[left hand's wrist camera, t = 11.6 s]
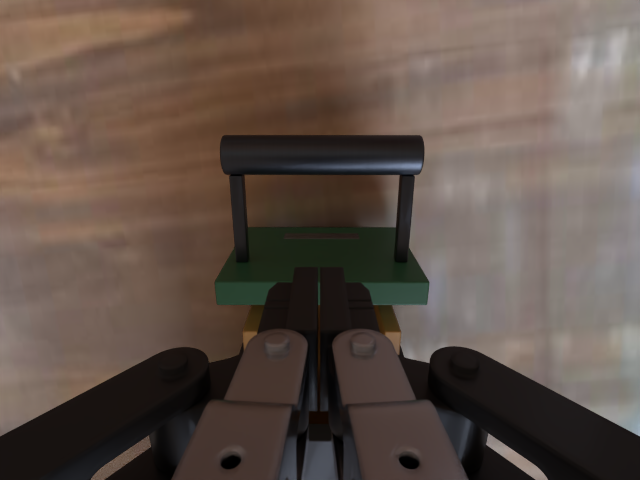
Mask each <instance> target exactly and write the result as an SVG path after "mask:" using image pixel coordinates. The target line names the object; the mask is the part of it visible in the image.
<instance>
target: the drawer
mask: <svg viewBox="0 0 640 480" xmlns="http://www.w3.org/2000/svg"><path fill="white" fill-rule="evenodd" d="M220 160H221V166H222V169H223V172H224V173H225V174H226V175H230V176H229V179H230V192H231V204H232V217H233V230H234V242H235V247H234V249H233V251H232V252H231V254H230V256H229V258H228V259H227V261H226V263H225V265H224V266H223V268H222V270H221V272H220V273H219V275H218V277H217V279H216V280H215V291H216V301H217V304H218V305H251V307H250V310H249V313H248V317H247V320H246V323H245V326H244V329H243V332H242V333H243V346H244V350H245V348H246V345H247V343H248V342H249V340H250V339H251V338H252V337H254V336H255V335H257V332H258V328H259V324H260V320H261V317H262V313H263V309H264V305H265V302H266V298H267V294H268V290H269V289H271V288H272V287H273V286H274V285H275V284H276V283H277V282H293V275H294V269H295V267H318V394H317V411H309V424H329V420H328V411H320V267H343V269H344V276H345V282H361V283H362V284H363V285H364V286H365V287H366V288H367V289H368V290H369V291H370V295H371V299H372V303H373V307H374V310H375V314H376V318H377V322H378V326H379V330H380V333H382V334H383V335H385V336H386V337H388V338H389V339H390V340H391V342H392V343H393V345H394V348H395V350H396V353H397V354H398V355H399V352H400V340H401V330H400V327H399V324H398V321H397V318H396V316H395V313H394V310H393V307H392V305H427V300H428V291H429V281H428V279H427V277H426V276H425V274H424V272H423V271H422V269H421V267H420V266H419V264H418V262H417V260H416V259H415V257H414V255H413V254H412V252H411V250H410V249H409V239H410V227H411V215H412V203H413V191H414V180H415V176H414V175H418V174H420V172H421V170H422V167H423V162H424V142H423V138H422V136H420V135H224V136H223V137H222V139H221V143H220ZM244 175H400V178H399V192H398V206H397V220H396V228H385V227H248V224H247V209H246V193H245V178H244Z"/></svg>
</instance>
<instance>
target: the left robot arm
mask: <svg viewBox="0 0 640 480" xmlns="http://www.w3.org/2000/svg"><path fill="white" fill-rule="evenodd" d="M317 394H318V267H295V269H294V275H293V282H277V283H276V284H275V285H274V286H273V287H272V288H271V289H269V290H268V294H267V298H266V302H265V305H264V309H263V313H262V317H261V320H260V324H259V328H258V332H257V335H255V336H254V337H252V338H251V339H250V340H249V342H248V343H247V345H246V348H245V350H244V352H243V353H241V354H239V355H237V356H235V357H232V358H229V359H225V360H220V361H215V362H211V363H209V361H208V357H207V356H206V354H205V353H204V352H202V351H200V350H198V349H195V348H189V347H181V348H173V349H169V350H166V351H163V352H160V353H158V354H156V355H154V356H152V357H150V358H149V359H147V360H145V361H143V362H141V363H139V364H137V365H135V366H133V367H131V368H130V369H128V370H126V371H124V372H122V373H120V374H118V375H116V376H114V377H112V378H111V379H109V380H107V381H105V382H103V383H101V384H99V385H97V386H95V387H93V388H92V389H90V390H88V391H86V392H84V393H82V394H80V395H78V396H76V397H74V398H73V399H71V400H69V401H67V402H65V403H63V404H61V405H59V406H57V407H55V408H54V409H52V410H50V411H48V412H46V413H44V414H42V415H40V416H38V417H36V418H35V419H33V420H31V421H29V422H27V423H25V424H23V425H21V426H19V427H17V428H16V429H14V430H12V431H10V432H8V433H6V434H4V435H2V436H0V480H90V479H91V478H92V477H93V475H94V474H95V473H96V472H97V471H98V470H99V469H100V468H101V467H103V466H104V465H105V464H107V463H108V462H110V461H111V460H113V459H114V458H116V457H117V456H119V455H120V454H122V453H123V452H125V451H126V450H127V449H129V448H130V447H132V446H133V445H135V444H136V443H138V442H139V441H141V440H142V439H144V438H145V437H147V436H148V435H149V437H150V442H151V447H150V448H149V449H147V450H146V451H145V452H143V453H142V454H140V455H139V456H138V457H136V458H135V459H133V460H132V461H130V462H129V463H128V464H126V465H125V466H123V467H122V468H121V469H119V470H118V471H116V472H115V473H113V474H112V475H111V476H109V477H108V478H106V479H105V480H304V475H305V467H306V459H307V451H308V443H309V411H317ZM320 411H328V420H329V426H330V429H331V443H332V451H333V459H334V467H335V475H336V480H535V479H534V478H532V477H531V476H529V475H528V474H526V473H525V472H524V471H522V470H521V469H519V468H518V467H517V466H515V465H514V464H512V463H511V462H510V461H508V460H507V459H505V458H504V457H502V456H501V455H500V454H498V453H497V452H495V451H494V450H493V449H491V448H490V447H488V446H487V445H486V442H487V437H488V433H489V434H490V435H492V436H493V437H495V438H496V439H498V440H499V441H501V442H502V443H504V444H505V445H507V446H508V447H510V448H511V449H513V450H514V451H515V452H517V453H518V454H520V455H521V456H523V457H524V458H526V459H527V460H529V461H530V462H532V463H533V464H534V465H536V466H537V467H538V468H539V469H540V470H541V471H542V472H543V473H544V474H545V476H546V477H547V478H548V480H640V436H638V435H636V434H634V433H632V432H630V431H628V430H626V429H624V428H623V427H621V426H619V425H617V424H615V423H613V422H611V421H609V420H607V419H605V418H604V417H602V416H600V415H598V414H596V413H594V412H592V411H590V410H588V409H586V408H585V407H583V406H581V405H579V404H577V403H575V402H573V401H571V400H569V399H567V398H566V397H564V396H562V395H560V394H558V393H556V392H554V391H552V390H550V389H548V388H547V387H545V386H543V385H541V384H539V383H537V382H535V381H533V380H531V379H529V378H528V377H526V376H524V375H522V374H520V373H518V372H516V371H514V370H512V369H510V368H509V367H507V366H505V365H503V364H501V363H499V362H497V361H495V360H493V359H491V358H490V357H488V356H486V355H484V354H482V353H480V352H478V351H475V350H472V349H469V348H464V347H455V346H454V347H444V348H441V349H438V350H436V351H435V352H434V353H433V354H432V355H431V358H430V363H426V362H421V361H416V360H412V359H408V358H405V357H402V356H400V355H398V354H397V353H396V350H395V348H394V345H393V343H392V342H391V340H390V339H389V338H388V337H386V336H385V335H383V334H382V333H380V330H379V326H378V322H377V318H376V314H375V310H374V307H373V303H372V299H371V295H370V291H369V290H368V289H367V288H366V287H365V286H364V285H363V284H362V283H361V282H345V276H344V269H343V267H320Z"/></svg>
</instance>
